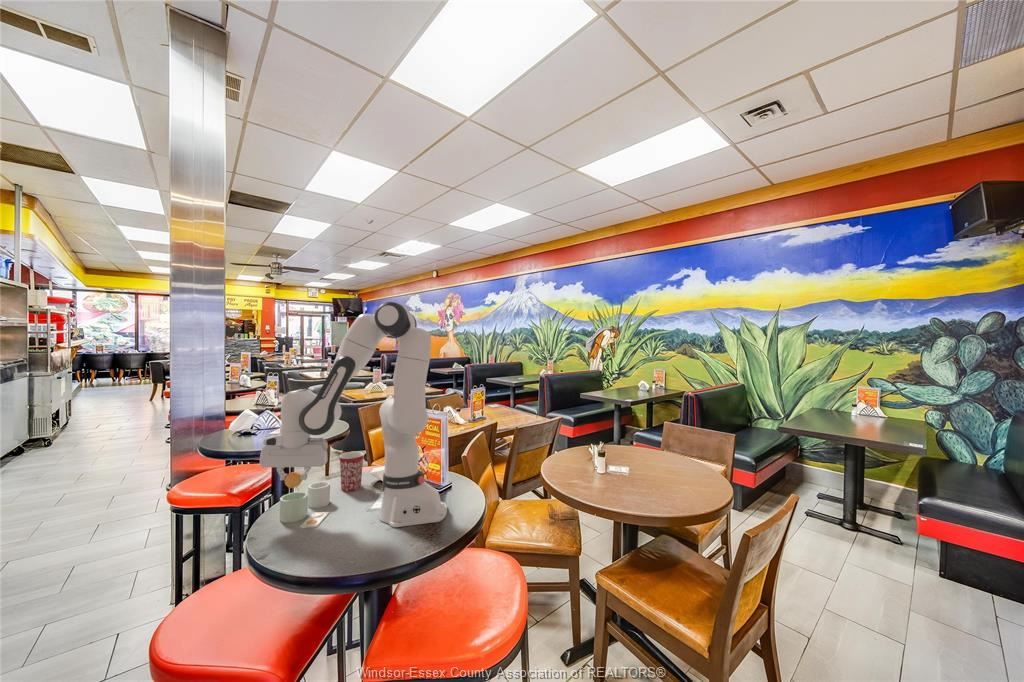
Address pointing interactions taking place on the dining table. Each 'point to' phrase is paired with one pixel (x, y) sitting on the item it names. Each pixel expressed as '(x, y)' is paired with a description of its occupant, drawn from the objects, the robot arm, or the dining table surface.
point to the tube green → (293, 507)
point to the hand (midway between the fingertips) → (293, 479)
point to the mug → (351, 471)
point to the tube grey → (318, 494)
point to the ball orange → (293, 480)
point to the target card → (314, 520)
